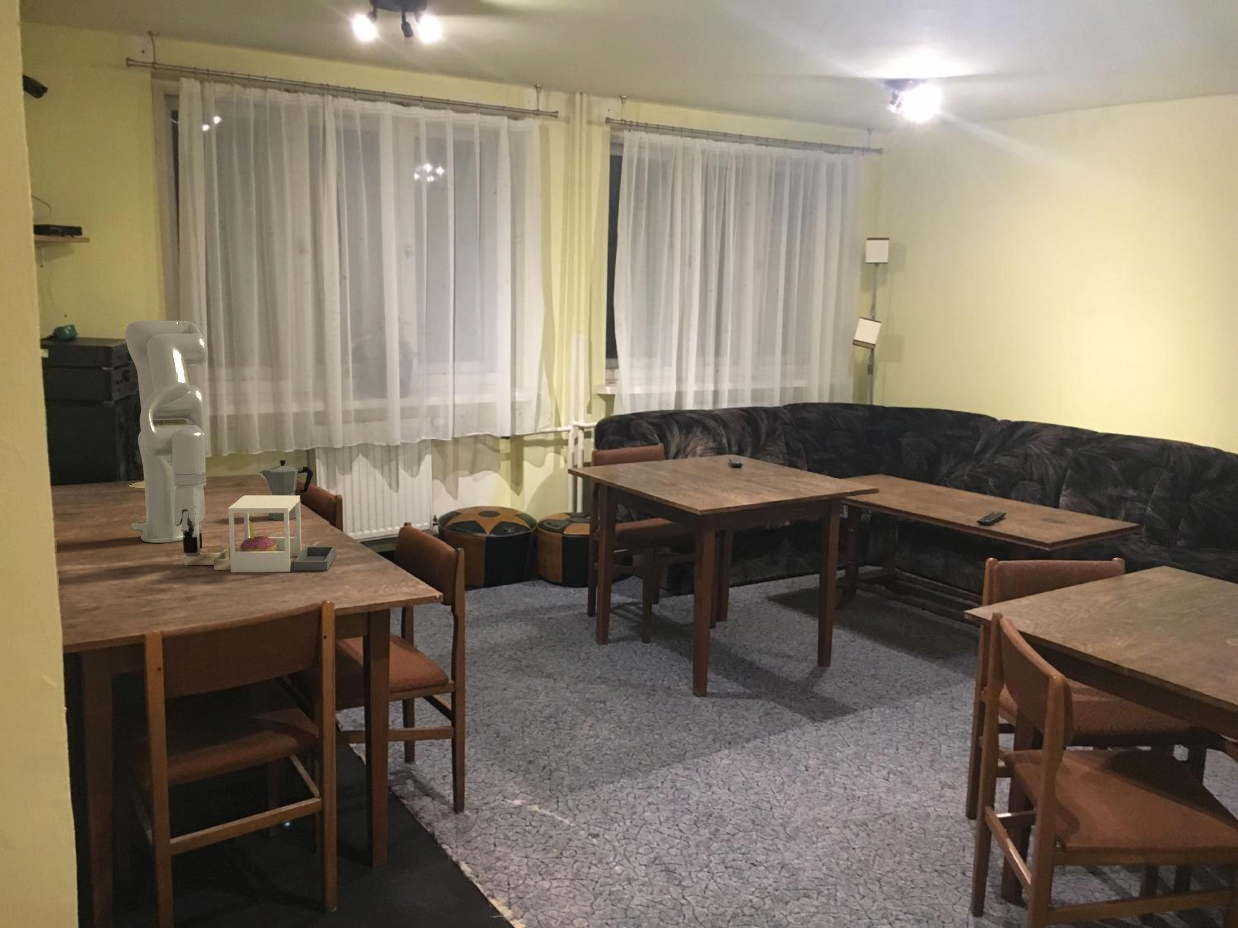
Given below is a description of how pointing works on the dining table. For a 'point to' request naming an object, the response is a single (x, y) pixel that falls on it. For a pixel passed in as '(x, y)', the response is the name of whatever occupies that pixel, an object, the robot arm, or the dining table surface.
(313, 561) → the grey shallow rectangular tray
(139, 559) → the dining table surface
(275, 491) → the coffeepot
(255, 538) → the cupcake
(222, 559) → the cream frame with post
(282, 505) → the white open frame box
